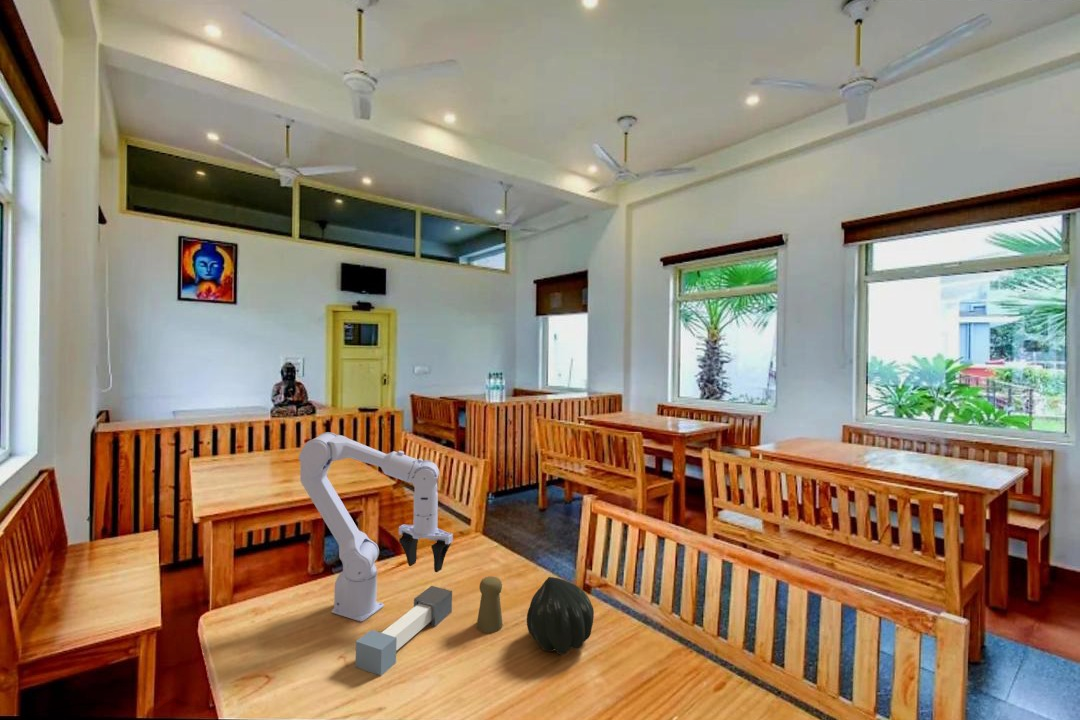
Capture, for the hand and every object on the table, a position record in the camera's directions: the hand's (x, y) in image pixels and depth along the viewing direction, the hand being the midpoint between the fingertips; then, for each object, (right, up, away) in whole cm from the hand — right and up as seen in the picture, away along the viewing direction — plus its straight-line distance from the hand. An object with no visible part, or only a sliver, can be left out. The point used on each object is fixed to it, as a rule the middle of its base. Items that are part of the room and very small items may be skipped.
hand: (425, 567), depth 121 cm
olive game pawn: (+16, -11, -6) cm, 21 cm away
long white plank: (-2, -11, -13) cm, 17 cm away
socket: (-5, -11, -21) cm, 24 cm away
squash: (+32, -12, -11) cm, 36 cm away
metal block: (+2, -11, -3) cm, 11 cm away
